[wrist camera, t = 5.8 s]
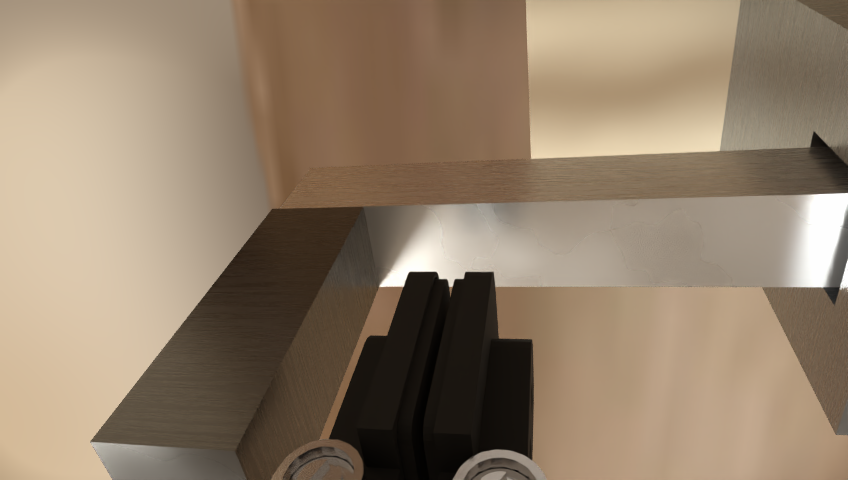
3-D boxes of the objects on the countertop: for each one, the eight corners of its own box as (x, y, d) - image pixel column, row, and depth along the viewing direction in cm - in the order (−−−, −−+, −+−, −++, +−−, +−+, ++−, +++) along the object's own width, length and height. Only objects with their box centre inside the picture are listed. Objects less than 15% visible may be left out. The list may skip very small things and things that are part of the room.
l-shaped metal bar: (1128, 227, 14) (1886, 710, 6) (321, 240, 18) (146, 536, 10) (1181, 131, 13) (2209, 576, 5) (304, 168, 17) (89, 441, 9)
